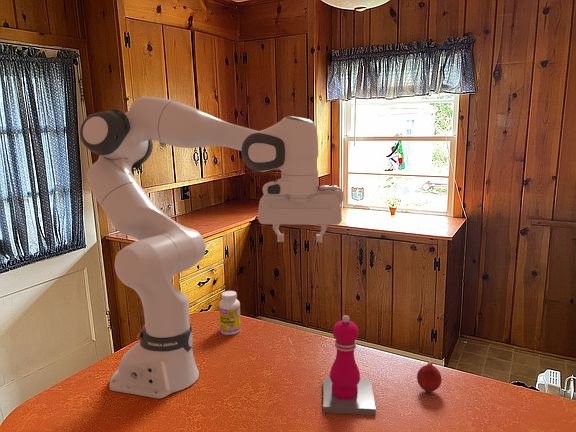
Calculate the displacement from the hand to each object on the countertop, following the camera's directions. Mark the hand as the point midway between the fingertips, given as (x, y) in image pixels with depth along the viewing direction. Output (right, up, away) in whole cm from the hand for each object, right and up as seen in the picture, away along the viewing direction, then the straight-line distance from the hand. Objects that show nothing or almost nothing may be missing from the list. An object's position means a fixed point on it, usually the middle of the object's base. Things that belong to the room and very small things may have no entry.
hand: (299, 241), depth 113 cm
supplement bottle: (-22, -31, +35) cm, 51 cm away
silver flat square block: (+12, -38, -1) cm, 40 cm away
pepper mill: (+11, -37, -1) cm, 38 cm away
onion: (+32, -38, +1) cm, 49 cm away
